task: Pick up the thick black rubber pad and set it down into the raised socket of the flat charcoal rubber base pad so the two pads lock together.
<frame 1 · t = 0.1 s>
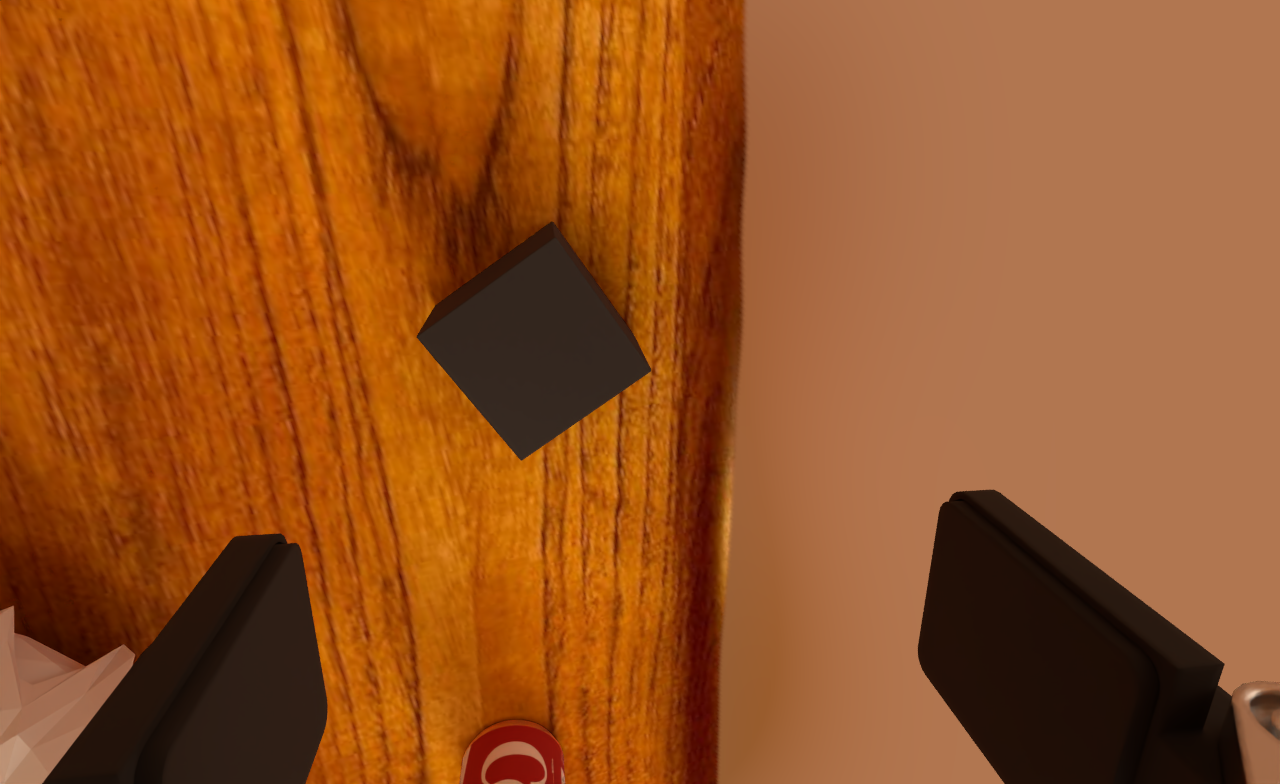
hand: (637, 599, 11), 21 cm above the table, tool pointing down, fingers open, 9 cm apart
soda can: (513, 752, 38), on the table
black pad: (537, 321, 31), on the table
bowl: (12, 719, 34), on the table
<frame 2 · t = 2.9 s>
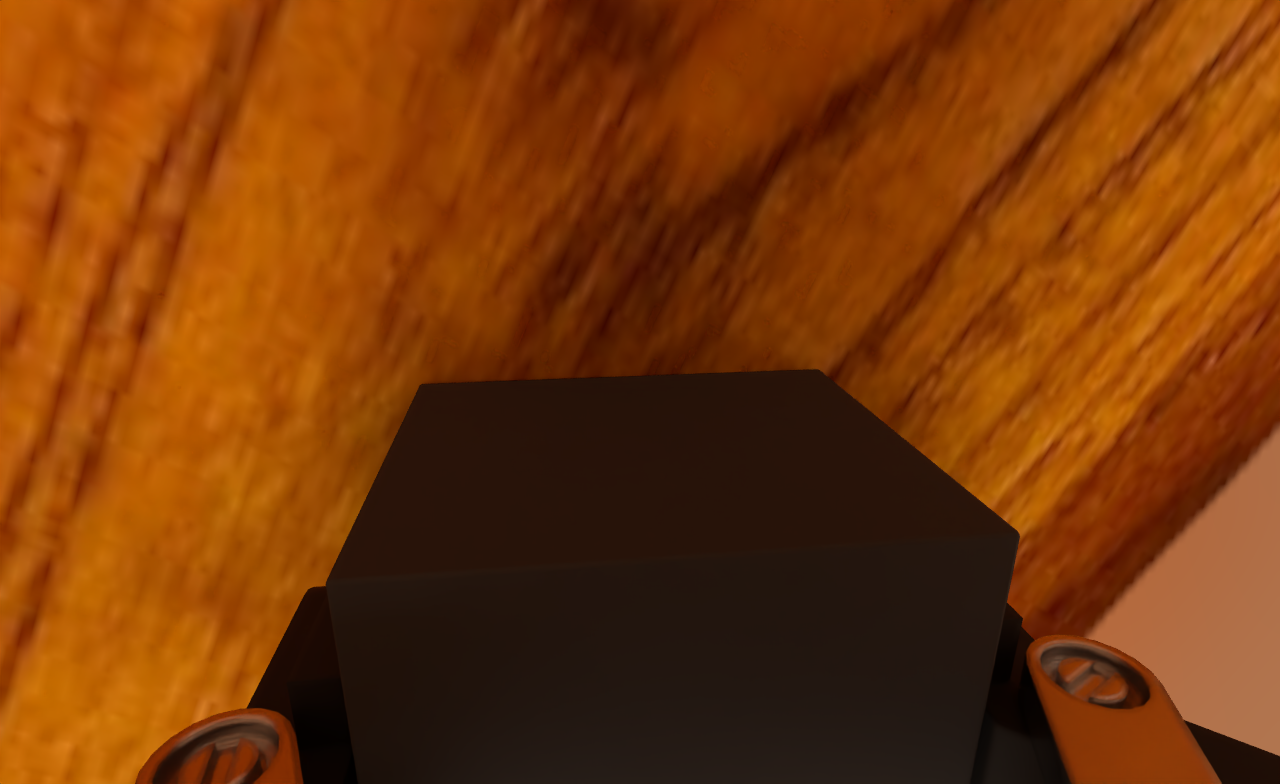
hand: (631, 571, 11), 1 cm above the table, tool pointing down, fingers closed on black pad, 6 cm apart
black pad: (626, 550, 12), on the table, touching gripper
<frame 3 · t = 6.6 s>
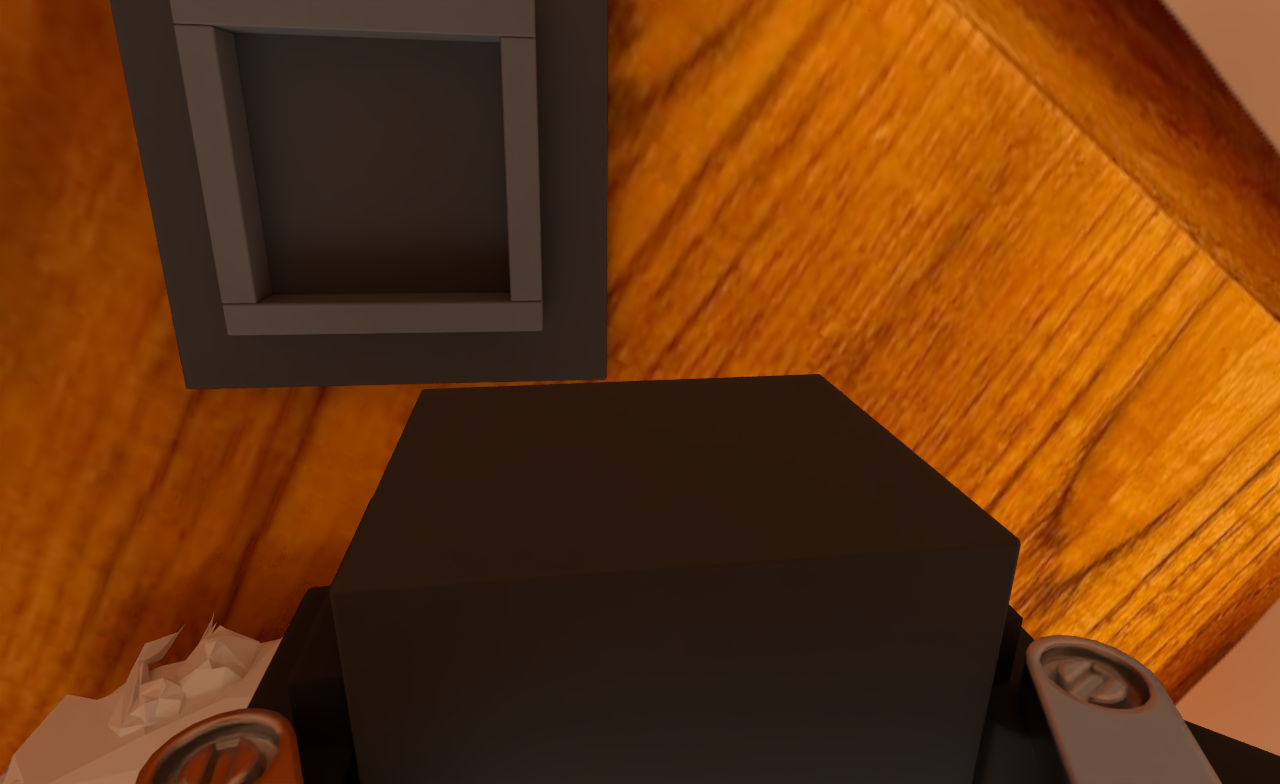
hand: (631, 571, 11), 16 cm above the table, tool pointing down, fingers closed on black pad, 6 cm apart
base pad: (390, 171, 24), on the table
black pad: (628, 555, 12), point 15 cm above the table, touching gripper
bowl: (347, 754, 31), on the table
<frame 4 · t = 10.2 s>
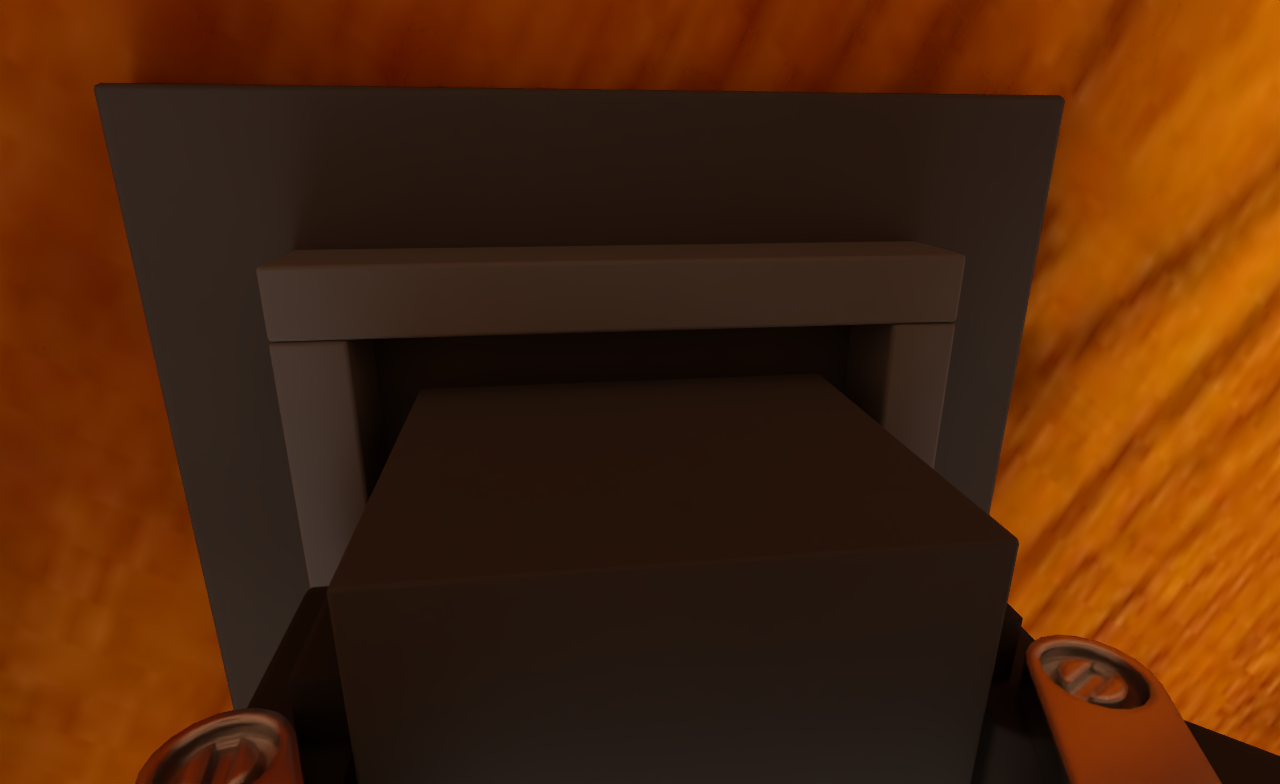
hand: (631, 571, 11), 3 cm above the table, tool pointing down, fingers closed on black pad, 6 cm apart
base pad: (616, 495, 14), on the table
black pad: (626, 554, 12), point 2 cm above the table, touching gripper
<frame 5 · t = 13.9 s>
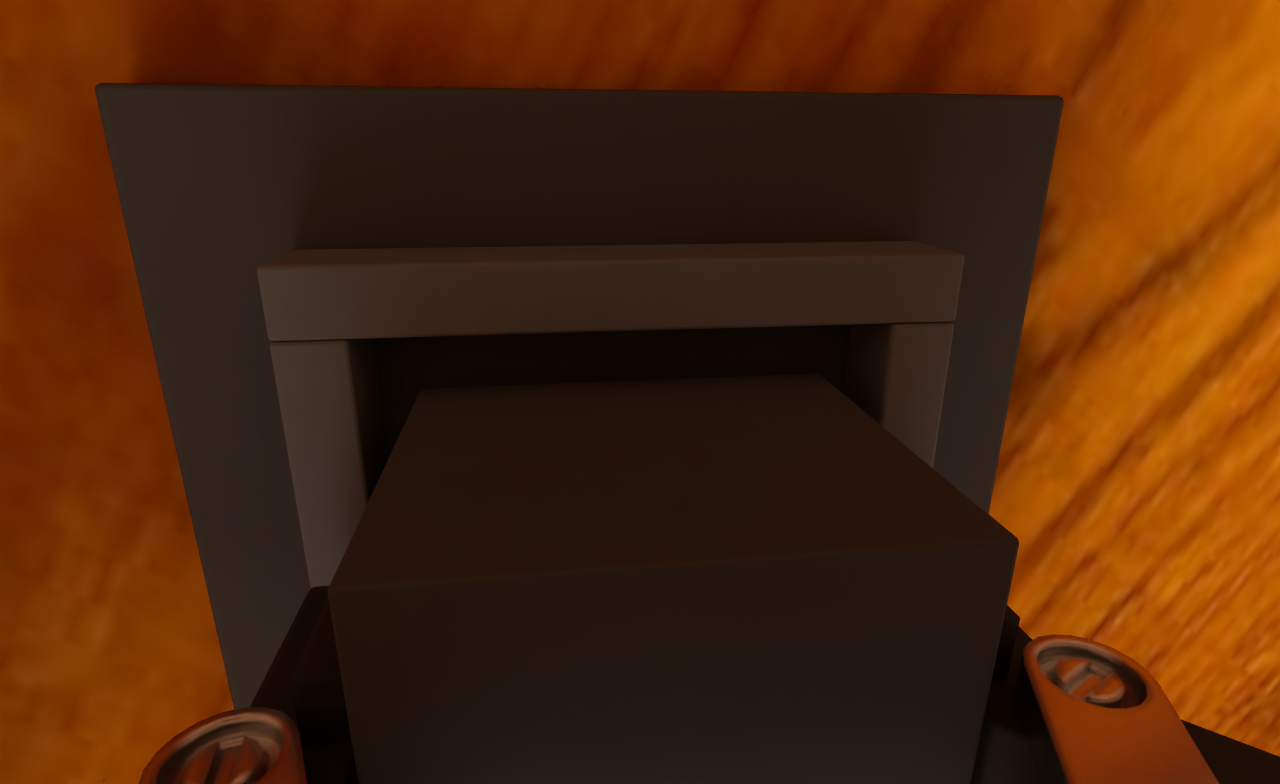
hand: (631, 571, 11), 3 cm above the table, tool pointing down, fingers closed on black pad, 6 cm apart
base pad: (616, 495, 14), on the table
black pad: (627, 554, 12), point 2 cm above the table, touching gripper
when the fingers open (3 cm above the table, at t = 17.2 s): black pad drops 2 cm, resting on base pad.
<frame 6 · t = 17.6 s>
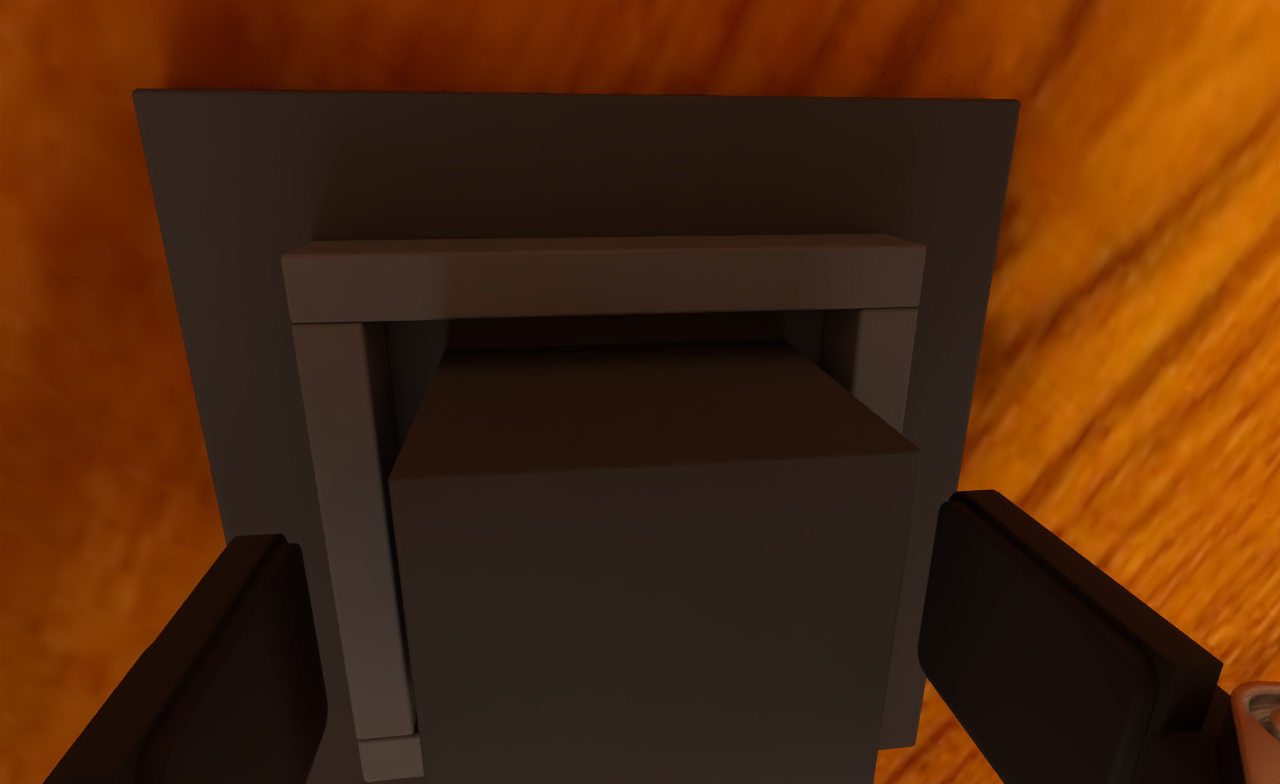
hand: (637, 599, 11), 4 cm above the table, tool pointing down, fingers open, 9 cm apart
base pad: (609, 472, 15), on the table
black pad: (620, 497, 14), point 1 cm above the table, touching base pad
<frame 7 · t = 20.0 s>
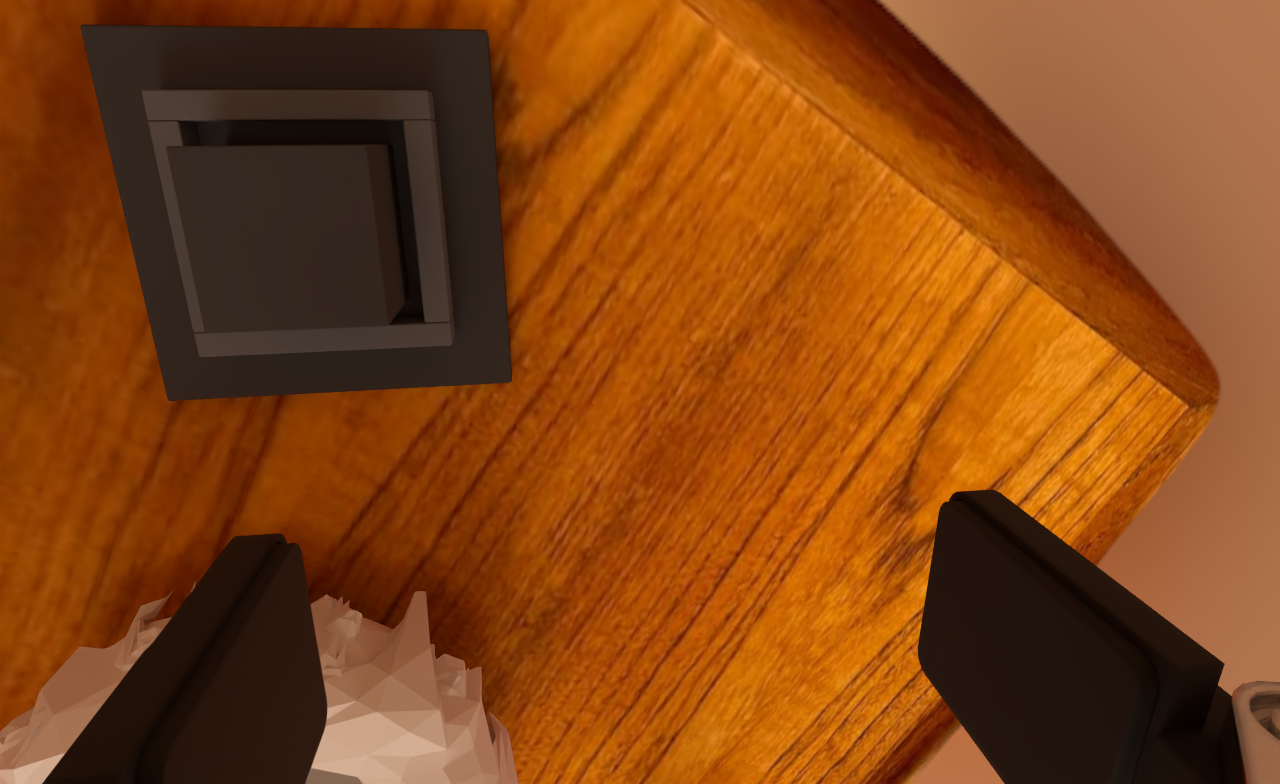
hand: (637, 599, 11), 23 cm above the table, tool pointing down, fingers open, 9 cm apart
base pad: (326, 221, 29), on the table
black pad: (322, 225, 29), point 1 cm above the table, touching base pad
bowl: (315, 703, 37), on the table
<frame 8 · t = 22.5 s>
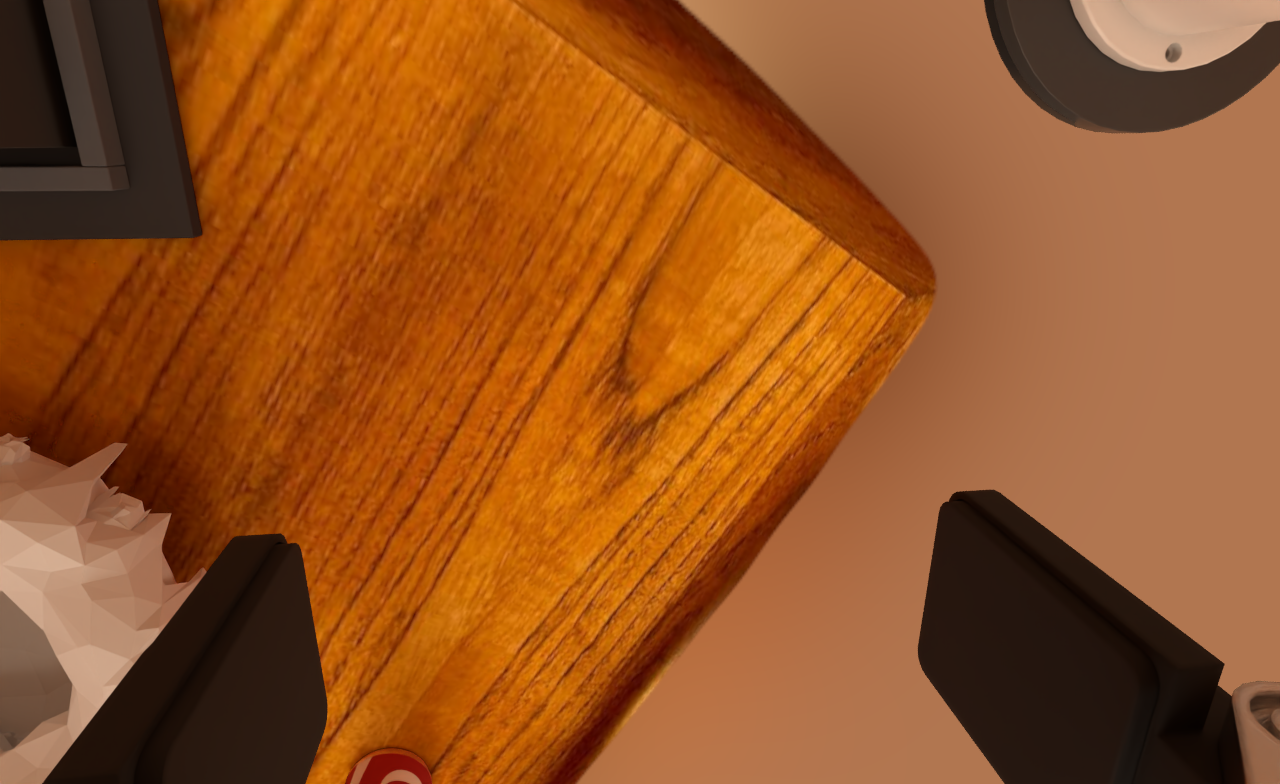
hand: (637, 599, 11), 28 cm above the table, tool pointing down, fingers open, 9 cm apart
soda can: (391, 774, 46), on the table
bowl: (46, 561, 39), on the table
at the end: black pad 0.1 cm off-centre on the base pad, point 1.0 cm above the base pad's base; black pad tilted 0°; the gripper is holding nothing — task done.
